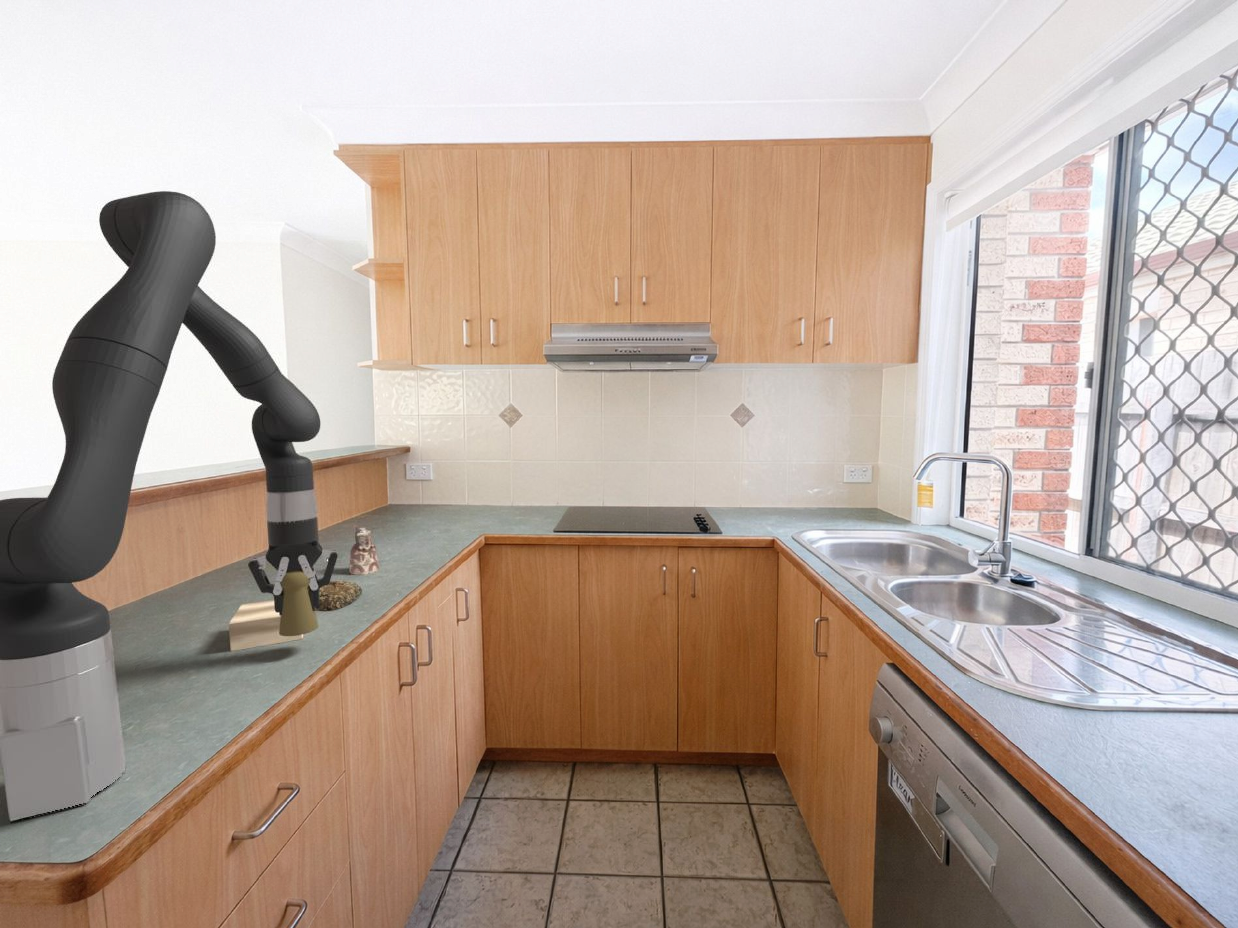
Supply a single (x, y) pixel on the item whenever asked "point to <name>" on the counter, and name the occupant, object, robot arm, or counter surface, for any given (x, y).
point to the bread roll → (337, 595)
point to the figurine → (363, 553)
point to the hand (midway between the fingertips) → (298, 611)
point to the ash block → (256, 626)
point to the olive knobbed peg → (296, 605)
